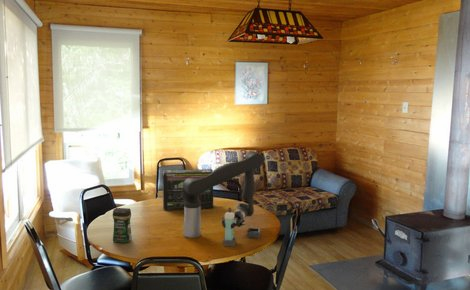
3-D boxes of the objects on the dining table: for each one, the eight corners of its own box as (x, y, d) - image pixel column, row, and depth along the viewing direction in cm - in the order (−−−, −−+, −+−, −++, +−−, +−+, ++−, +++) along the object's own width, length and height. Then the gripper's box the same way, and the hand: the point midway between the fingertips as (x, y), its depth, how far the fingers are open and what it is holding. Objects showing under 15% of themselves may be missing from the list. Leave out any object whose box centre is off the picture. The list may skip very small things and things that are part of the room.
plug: (224, 243, 226) (224, 207, 223) (226, 240, 230) (227, 205, 227) (231, 244, 225) (232, 208, 222) (234, 241, 229) (234, 206, 226)
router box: (212, 204, 305) (212, 168, 301) (213, 209, 294) (214, 171, 290) (162, 206, 299) (162, 169, 295) (162, 210, 288) (162, 172, 284)
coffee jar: (110, 242, 227) (110, 209, 224) (117, 237, 234) (116, 205, 232) (127, 244, 225) (127, 210, 223) (133, 239, 233) (132, 206, 231)
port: (247, 237, 238) (247, 231, 237) (248, 233, 244) (248, 227, 244) (259, 238, 237) (259, 232, 236) (260, 234, 244) (260, 228, 243)
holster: (222, 245, 225) (222, 240, 224) (224, 241, 231) (224, 236, 230) (234, 246, 224) (234, 241, 223) (236, 242, 230) (236, 237, 230)
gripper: (225, 209, 241) (215, 218, 225) (249, 212, 237) (240, 221, 221) (225, 222, 242) (215, 231, 226) (249, 225, 238) (240, 234, 222)
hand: (227, 226), depth 223 cm, fingers closed on plug, 3 cm apart
